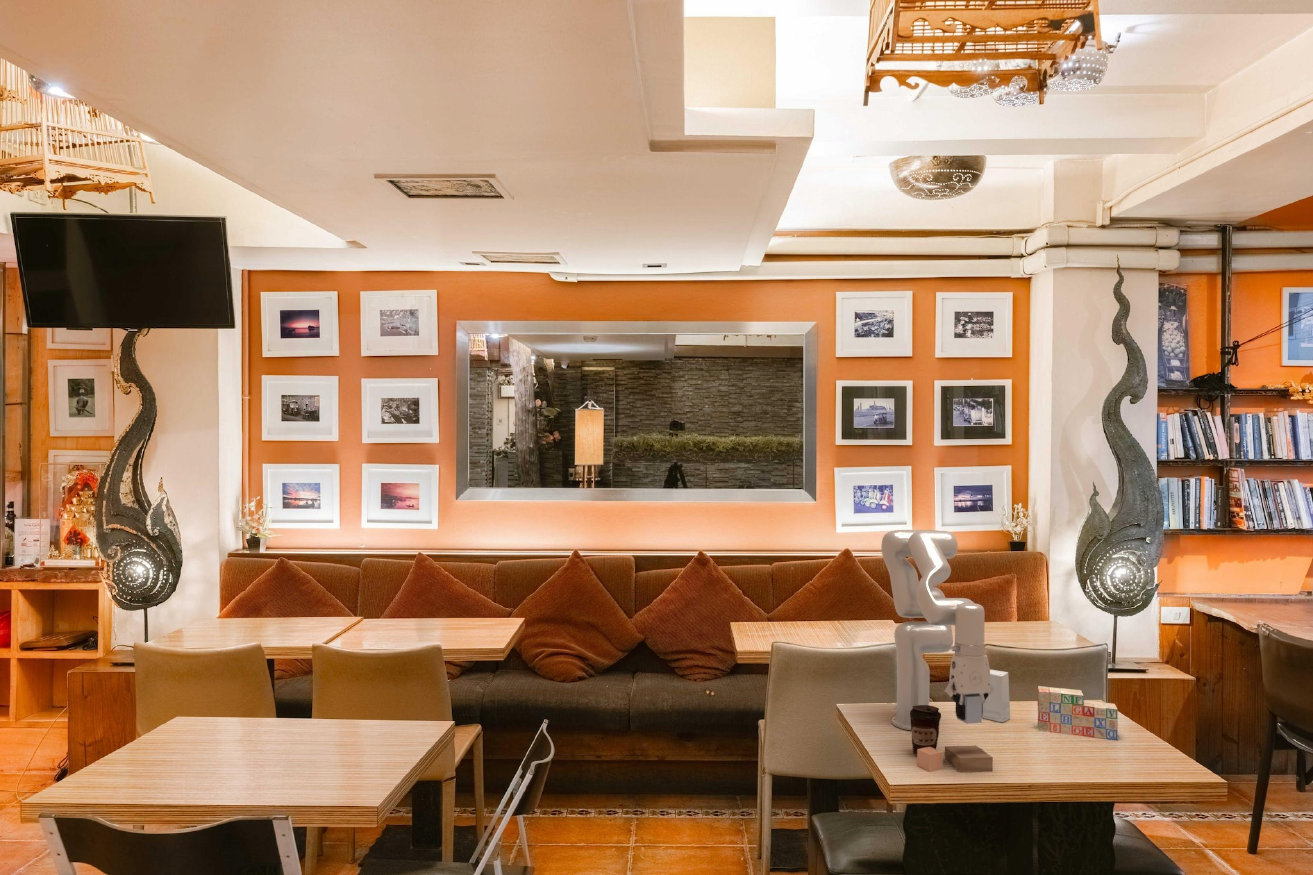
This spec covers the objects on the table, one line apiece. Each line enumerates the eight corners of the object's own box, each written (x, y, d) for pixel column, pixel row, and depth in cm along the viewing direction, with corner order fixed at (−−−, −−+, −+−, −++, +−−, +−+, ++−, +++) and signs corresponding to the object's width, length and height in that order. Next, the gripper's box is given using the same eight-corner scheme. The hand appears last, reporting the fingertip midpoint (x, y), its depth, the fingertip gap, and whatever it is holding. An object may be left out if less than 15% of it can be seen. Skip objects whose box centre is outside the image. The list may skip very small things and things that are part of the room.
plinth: (944, 760, 231) (944, 746, 231) (976, 759, 232) (976, 745, 232) (960, 773, 222) (960, 758, 222) (992, 772, 223) (992, 757, 223)
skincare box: (1010, 719, 267) (1010, 672, 267) (1002, 723, 263) (1002, 675, 263) (984, 713, 273) (984, 667, 273) (976, 717, 269) (976, 670, 269)
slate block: (956, 718, 229) (957, 692, 229) (971, 717, 230) (971, 691, 230) (966, 723, 224) (967, 697, 225) (981, 722, 225) (981, 696, 226)
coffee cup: (940, 762, 229) (940, 714, 229) (908, 757, 232) (908, 710, 232) (941, 751, 237) (941, 705, 238) (910, 747, 240) (910, 701, 240)
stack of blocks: (1114, 734, 254) (1115, 693, 255) (1117, 741, 249) (1118, 699, 249) (1037, 724, 262) (1037, 685, 263) (1038, 731, 257) (1038, 690, 257)
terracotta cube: (917, 765, 226) (917, 749, 227) (929, 763, 229) (929, 746, 229) (929, 771, 223) (930, 754, 223) (942, 768, 225) (942, 751, 225)
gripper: (949, 654, 222) (949, 724, 221) (1005, 651, 226) (1005, 720, 226) (933, 647, 229) (933, 715, 229) (988, 645, 233) (988, 711, 233)
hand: (969, 717), depth 227 cm, fingers closed on slate block, 4 cm apart
